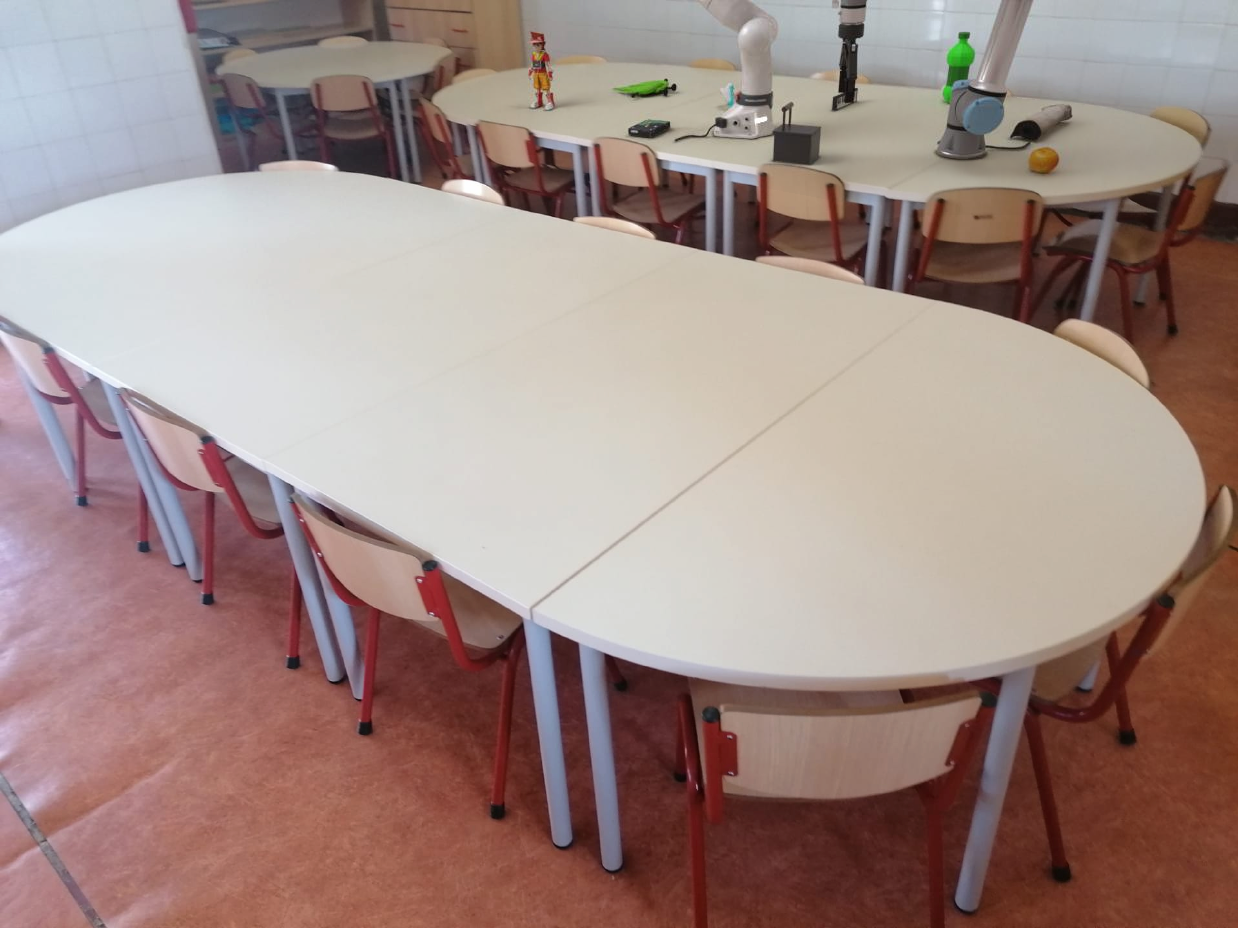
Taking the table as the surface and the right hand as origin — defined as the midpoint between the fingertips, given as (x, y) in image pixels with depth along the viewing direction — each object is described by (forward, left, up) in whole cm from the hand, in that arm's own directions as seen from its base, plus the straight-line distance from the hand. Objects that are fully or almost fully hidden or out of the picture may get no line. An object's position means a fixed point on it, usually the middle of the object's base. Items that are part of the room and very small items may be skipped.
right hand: (845, 97), depth 280 cm
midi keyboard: (-13, -82, -22) cm, 86 cm away
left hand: (-1, -37, +21) cm, 42 cm away
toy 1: (+112, -99, -22) cm, 151 cm away
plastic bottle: (-56, -81, -22) cm, 101 cm away
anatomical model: (+31, -87, -22) cm, 95 cm away
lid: (+13, -13, -13) cm, 23 cm away
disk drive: (+64, -53, -22) cm, 86 cm away
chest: (+13, -13, -22) cm, 29 cm away
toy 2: (+70, -120, -22) cm, 141 cm away
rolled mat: (-75, -36, -22) cm, 86 cm away
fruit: (-61, +10, -22) cm, 65 cm away
